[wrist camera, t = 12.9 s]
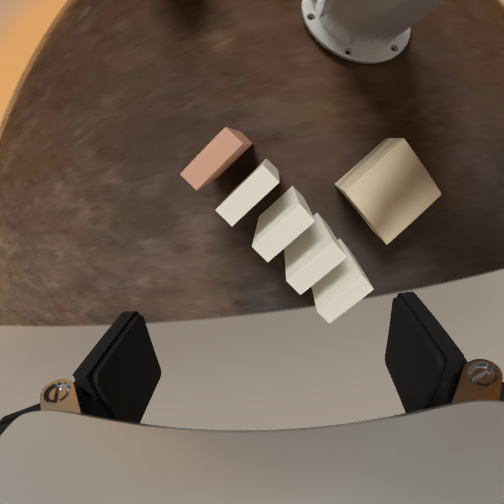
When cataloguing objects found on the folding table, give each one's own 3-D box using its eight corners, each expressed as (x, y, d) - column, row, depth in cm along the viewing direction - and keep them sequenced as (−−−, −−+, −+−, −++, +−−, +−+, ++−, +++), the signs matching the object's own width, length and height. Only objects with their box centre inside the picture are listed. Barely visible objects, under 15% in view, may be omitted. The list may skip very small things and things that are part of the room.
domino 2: (233, 190, 32) (215, 210, 23) (266, 158, 31) (262, 164, 22) (244, 202, 33) (231, 226, 23) (278, 170, 31) (279, 182, 22)
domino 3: (258, 216, 33) (251, 246, 24) (292, 185, 32) (299, 203, 22) (270, 228, 34) (267, 262, 24) (303, 197, 32) (315, 221, 23)
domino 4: (283, 242, 34) (286, 280, 25) (317, 212, 33) (333, 241, 23) (294, 253, 34) (300, 295, 25) (327, 224, 33) (347, 257, 24)
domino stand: (334, 184, 31) (344, 191, 27) (386, 138, 29) (403, 138, 24) (372, 230, 33) (386, 244, 28) (421, 186, 30) (441, 194, 26)
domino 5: (306, 266, 35) (316, 311, 25) (339, 238, 33) (362, 275, 24) (316, 276, 35) (329, 323, 26) (349, 249, 34) (373, 289, 24)
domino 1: (208, 164, 32) (180, 174, 22) (240, 132, 30) (225, 126, 21) (219, 176, 32) (196, 190, 23) (252, 143, 31) (243, 143, 21)
